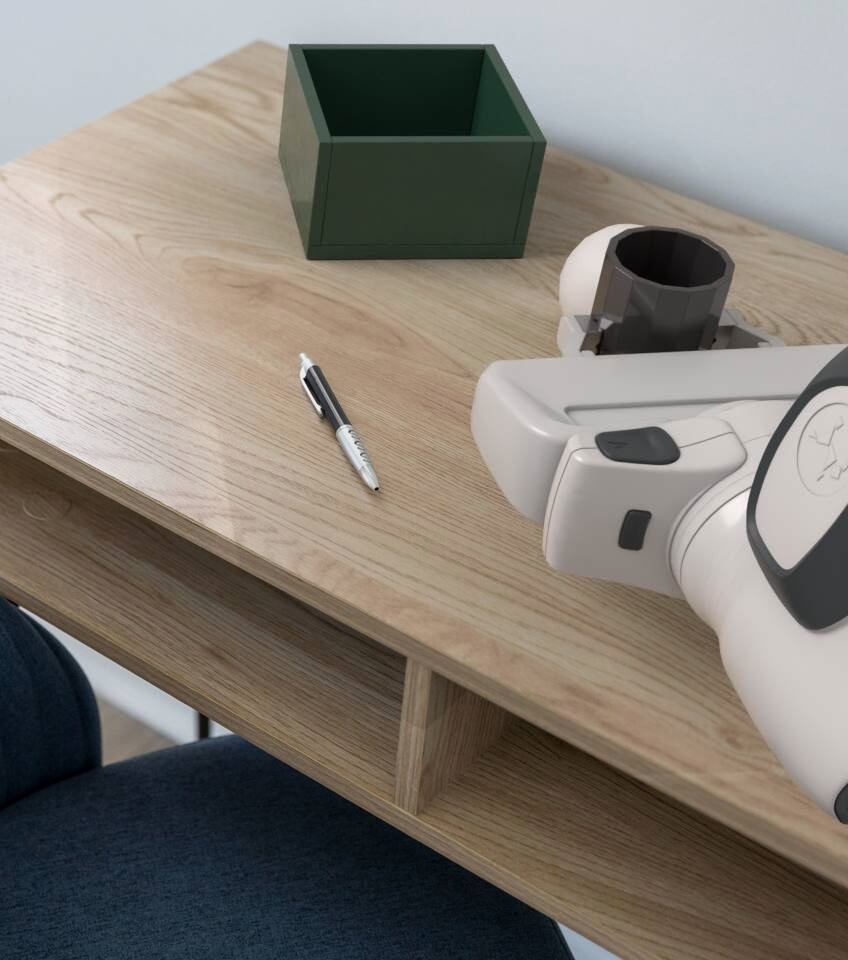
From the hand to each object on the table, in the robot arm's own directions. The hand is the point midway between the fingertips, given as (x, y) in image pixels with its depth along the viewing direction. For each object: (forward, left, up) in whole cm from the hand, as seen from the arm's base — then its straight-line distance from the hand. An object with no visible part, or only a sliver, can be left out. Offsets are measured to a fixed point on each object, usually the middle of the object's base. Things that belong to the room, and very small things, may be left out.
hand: (642, 322), depth 79 cm
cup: (0, +1, -5) cm, 5 cm away
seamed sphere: (-5, -11, -9) cm, 15 cm away
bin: (+6, -27, -9) cm, 29 cm away
